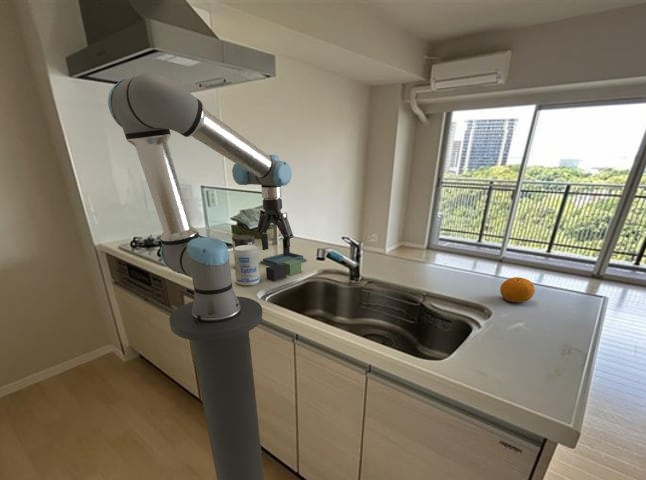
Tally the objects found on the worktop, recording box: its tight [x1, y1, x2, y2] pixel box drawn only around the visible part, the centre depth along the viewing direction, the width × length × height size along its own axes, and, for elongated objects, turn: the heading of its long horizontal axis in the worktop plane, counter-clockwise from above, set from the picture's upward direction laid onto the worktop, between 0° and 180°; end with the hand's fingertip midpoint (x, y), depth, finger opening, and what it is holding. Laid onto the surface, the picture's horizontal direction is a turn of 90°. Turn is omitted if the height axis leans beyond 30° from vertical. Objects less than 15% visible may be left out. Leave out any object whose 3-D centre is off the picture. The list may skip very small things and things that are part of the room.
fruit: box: [499, 276, 536, 303], centre depth 118 cm, size 10×10×8 cm
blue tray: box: [259, 252, 307, 267], centre depth 167 cm, size 18×14×2 cm
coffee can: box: [231, 234, 256, 261], centre depth 158 cm, size 10×10×14 cm
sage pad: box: [282, 259, 302, 276], centre depth 151 cm, size 7×5×5 cm
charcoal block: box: [265, 264, 287, 282], centre depth 144 cm, size 7×5×5 cm
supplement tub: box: [233, 245, 261, 287], centre depth 137 cm, size 10×10×15 cm
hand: (275, 252), depth 140 cm, fingers open, 13 cm apart
